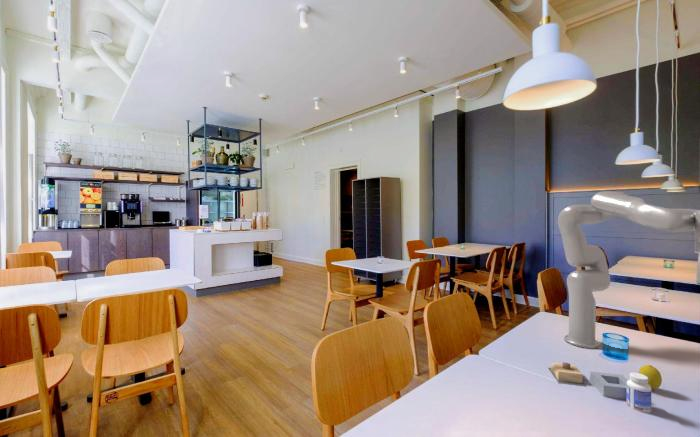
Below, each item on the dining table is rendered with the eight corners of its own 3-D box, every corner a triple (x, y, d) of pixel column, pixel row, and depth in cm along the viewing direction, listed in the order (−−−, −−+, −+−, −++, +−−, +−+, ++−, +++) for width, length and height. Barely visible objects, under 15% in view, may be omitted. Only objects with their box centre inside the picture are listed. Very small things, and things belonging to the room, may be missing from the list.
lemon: (665, 395, 101) (665, 370, 101) (643, 392, 103) (643, 367, 103) (655, 386, 106) (656, 362, 106) (634, 383, 108) (635, 359, 108)
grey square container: (590, 383, 108) (590, 371, 108) (622, 387, 106) (622, 374, 106) (603, 398, 100) (603, 385, 99) (638, 402, 97) (638, 389, 97)
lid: (551, 370, 116) (551, 358, 115) (573, 373, 114) (573, 360, 114) (558, 380, 109) (558, 367, 109) (582, 383, 107) (582, 370, 107)
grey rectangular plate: (547, 369, 118) (547, 367, 118) (573, 372, 116) (573, 370, 116) (558, 385, 107) (558, 383, 107) (586, 388, 105) (586, 386, 105)
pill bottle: (656, 412, 92) (656, 379, 92) (642, 416, 91) (643, 381, 91) (634, 402, 98) (635, 370, 97) (621, 405, 96) (622, 372, 96)
